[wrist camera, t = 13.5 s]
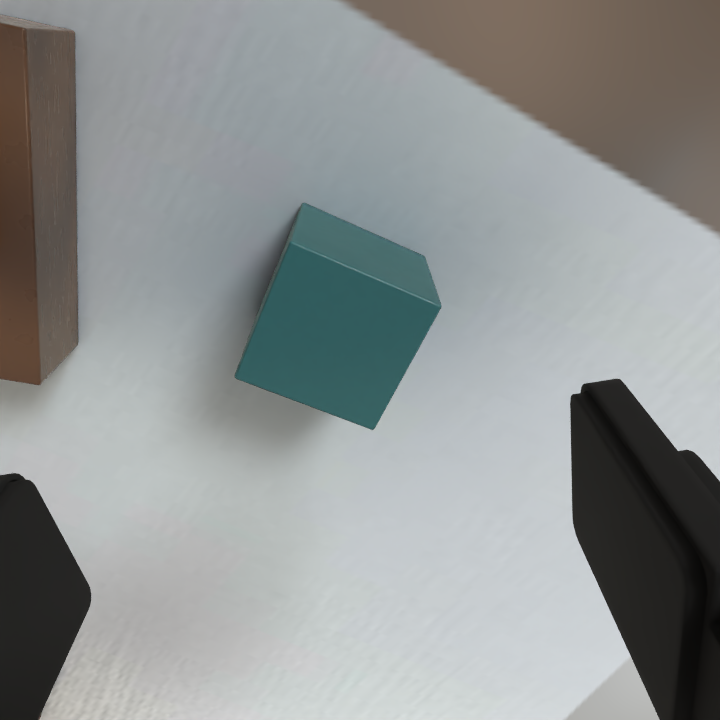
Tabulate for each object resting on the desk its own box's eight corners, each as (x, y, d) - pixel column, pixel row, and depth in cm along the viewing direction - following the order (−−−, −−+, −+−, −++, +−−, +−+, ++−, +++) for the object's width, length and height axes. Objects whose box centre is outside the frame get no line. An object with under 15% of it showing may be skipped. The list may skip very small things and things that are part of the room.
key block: (302, 201, 19) (289, 240, 16) (425, 255, 20) (443, 306, 16) (255, 317, 21) (233, 378, 17) (370, 363, 22) (373, 431, 18)
